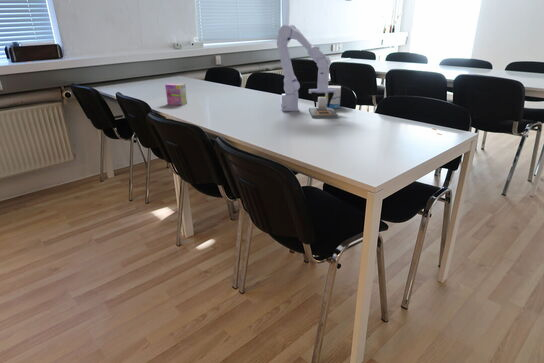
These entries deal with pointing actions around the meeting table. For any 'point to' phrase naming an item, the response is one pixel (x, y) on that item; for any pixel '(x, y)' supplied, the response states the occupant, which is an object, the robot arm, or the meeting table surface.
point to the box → (176, 94)
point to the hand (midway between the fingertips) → (321, 106)
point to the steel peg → (321, 104)
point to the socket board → (323, 113)
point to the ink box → (334, 97)
